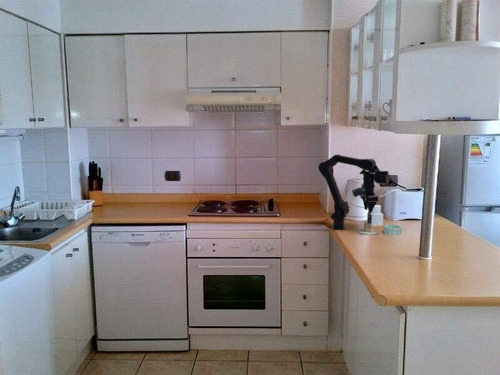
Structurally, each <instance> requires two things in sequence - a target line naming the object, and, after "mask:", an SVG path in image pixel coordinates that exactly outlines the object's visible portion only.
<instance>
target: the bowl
mask: <svg viewBox="0 0 500 375" xmlns="http://www.w3.org/2000/svg"><path fill="white" fill-rule="evenodd" d="M402 233H403V226H401V225H399V224H384V225H383V234H384V235H387V236H401V235H402Z"/></svg>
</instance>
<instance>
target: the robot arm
mask: <svg viewBox="0 0 500 375" xmlns="http://www.w3.org/2000/svg"><path fill="white" fill-rule="evenodd" d="M338 163H339V164H346V165H351V166H355V167H358V168H359V169H360V170H361V171H360V172H359V174H360V175H362V176H363V177H362V178H363V179H362V184H361V187H357V188H354V189H352V190H351V193H352V195H353V197H354V198H357V197H359V198H360V199H361V200H362V204H363V208H364V210H365V211H367V213H368V212H369V213H371V212H372V210H373V208H374V206H375V205H376V204H378V201H379V197H378V196H377V195H376V192H375V188H376V185H375V183H376V184H381V185H382V184H383V185H389V182H390V178H391V177H390V173H389V170H380V169H379V167H378V166H377V162H376V160H375V159H373V158H357V157H356V158H355V157H351V156H347V155H341V154H334V155H332V156H331V157H329V158H328V159H326V160H325V161H322V162H320V163H319V165H318V171H319V173H320V175H322V176H323V177H324V179H325V182H326V184H327V187H328V189H329V192H330V194H331V195H330V196H331V197H332V200H333V209H334V212H333V213H332V214H331V215H330V218H331V220H333V222H332V223H333V224H332V227H331V229H333V231H346V228H345V218H346V217H347V215H348V214H349V212H350V209H351V208H350V206H349V203H348V201H347V200H346V201H344V200H343V197H342V195H341V191H340V190H339V186H338V184H337V182H336V178H335V177H334V167H335V166H336V165H338Z"/></svg>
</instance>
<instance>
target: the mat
mask: <svg viewBox="0 0 500 375" xmlns="http://www.w3.org/2000/svg"><path fill="white" fill-rule="evenodd" d="M358 230H359V229H356V232H357V233H358ZM358 234H359V235H361V236H363V235H364V236H366V234H360V233H358ZM373 235H375V236H379V235H380V234H379V233H378V232H377V234H373ZM373 235H372V236H373Z"/></svg>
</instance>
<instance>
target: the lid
mask: <svg viewBox="0 0 500 375" xmlns="http://www.w3.org/2000/svg"><path fill="white" fill-rule="evenodd" d="M357 230H358V232H357V233H358V234H359V233H360V234H366V235H367V236H373V234H377V233H378V231H377V230H376V229H372V226H371V224H370V223H363V228H362V229H357ZM360 234H359V235H360ZM366 235H365V236H366Z"/></svg>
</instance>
